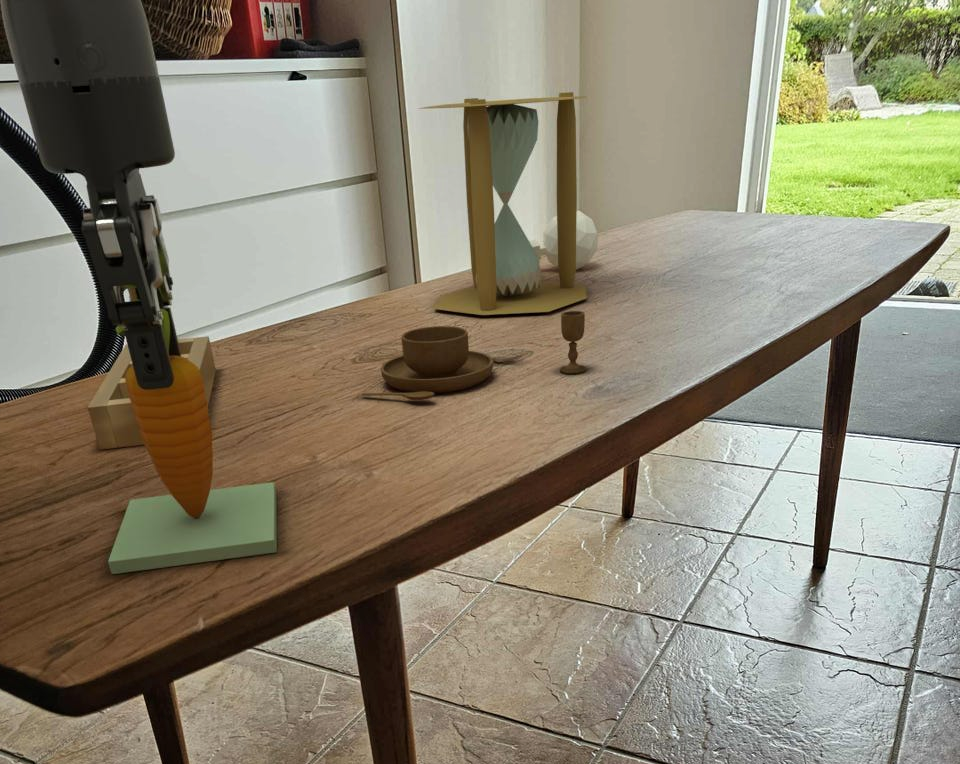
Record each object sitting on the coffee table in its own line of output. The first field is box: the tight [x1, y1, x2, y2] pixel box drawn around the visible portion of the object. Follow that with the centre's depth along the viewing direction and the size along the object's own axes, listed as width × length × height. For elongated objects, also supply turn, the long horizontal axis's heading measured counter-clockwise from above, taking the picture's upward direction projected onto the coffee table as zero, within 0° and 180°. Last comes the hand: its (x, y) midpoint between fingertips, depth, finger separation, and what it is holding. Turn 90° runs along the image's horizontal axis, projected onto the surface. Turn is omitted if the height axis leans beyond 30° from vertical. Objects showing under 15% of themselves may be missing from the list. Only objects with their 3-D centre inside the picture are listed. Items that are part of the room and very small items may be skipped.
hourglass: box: [417, 91, 588, 316], centre depth 122 cm, size 24×22×25 cm
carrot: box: [115, 300, 214, 519], centre depth 61 cm, size 5×5×15 cm
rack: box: [87, 335, 217, 451], centre depth 92 cm, size 9×24×4 cm, turn 11°
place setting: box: [360, 310, 587, 401], centre depth 93 cm, size 18×20×6 cm
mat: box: [107, 481, 278, 575], centre depth 65 cm, size 11×11×1 cm
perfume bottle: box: [529, 210, 599, 271], centre depth 145 cm, size 9×9×12 cm
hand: (161, 374), depth 60 cm, fingers closed on carrot, 5 cm apart
